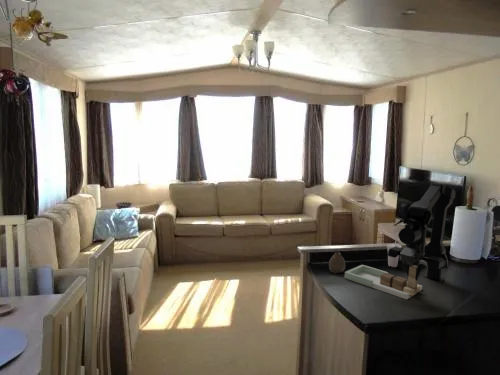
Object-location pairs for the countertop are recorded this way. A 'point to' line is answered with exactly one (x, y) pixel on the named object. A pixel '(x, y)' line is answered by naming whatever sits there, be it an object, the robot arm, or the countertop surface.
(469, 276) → the countertop surface
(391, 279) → the block
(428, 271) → the robot arm
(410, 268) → the scraper
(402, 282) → the block
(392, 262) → the smoothie
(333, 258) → the vase
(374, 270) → the slot tray
